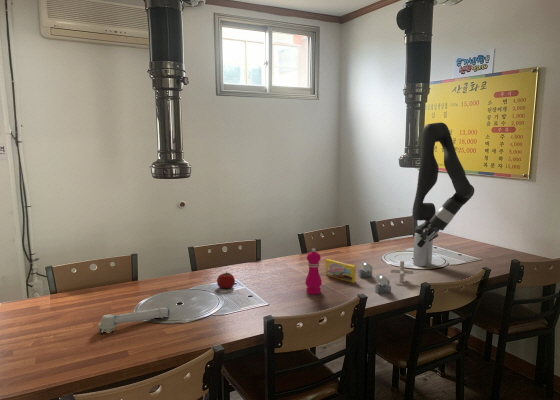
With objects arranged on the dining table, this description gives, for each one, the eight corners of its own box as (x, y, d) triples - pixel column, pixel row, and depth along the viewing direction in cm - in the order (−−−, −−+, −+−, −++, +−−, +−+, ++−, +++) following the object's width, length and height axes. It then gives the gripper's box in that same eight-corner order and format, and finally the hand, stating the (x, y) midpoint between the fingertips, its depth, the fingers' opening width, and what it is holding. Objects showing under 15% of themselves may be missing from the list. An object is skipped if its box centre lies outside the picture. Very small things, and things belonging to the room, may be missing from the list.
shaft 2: (373, 289, 183) (373, 274, 182) (385, 288, 184) (386, 273, 183) (378, 294, 177) (378, 279, 176) (391, 293, 178) (391, 278, 177)
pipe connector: (413, 286, 186) (414, 265, 184) (391, 284, 188) (392, 264, 186) (411, 278, 196) (412, 258, 194) (389, 277, 198) (390, 257, 196)
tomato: (228, 283, 192) (227, 268, 191) (238, 287, 187) (238, 272, 186) (214, 287, 187) (213, 272, 186) (224, 292, 181) (224, 276, 180)
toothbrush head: (170, 309, 155) (100, 316, 141) (169, 326, 156) (99, 335, 142) (166, 304, 160) (97, 311, 146) (165, 321, 160) (96, 329, 146)
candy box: (325, 275, 202) (325, 259, 200) (327, 274, 203) (328, 258, 202) (353, 283, 191) (353, 266, 190) (355, 282, 192) (355, 265, 191)
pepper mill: (310, 296, 176) (311, 251, 173) (302, 290, 182) (302, 247, 179) (324, 293, 179) (325, 249, 176) (316, 287, 185) (316, 245, 182)
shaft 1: (357, 275, 201) (358, 261, 200) (369, 274, 202) (369, 260, 201) (362, 279, 195) (362, 265, 194) (374, 278, 196) (374, 264, 195)
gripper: (442, 216, 198) (419, 243, 203) (430, 210, 190) (406, 239, 194) (453, 225, 193) (430, 253, 198) (441, 220, 184) (417, 249, 189)
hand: (418, 246), depth 196 cm, fingers closed
